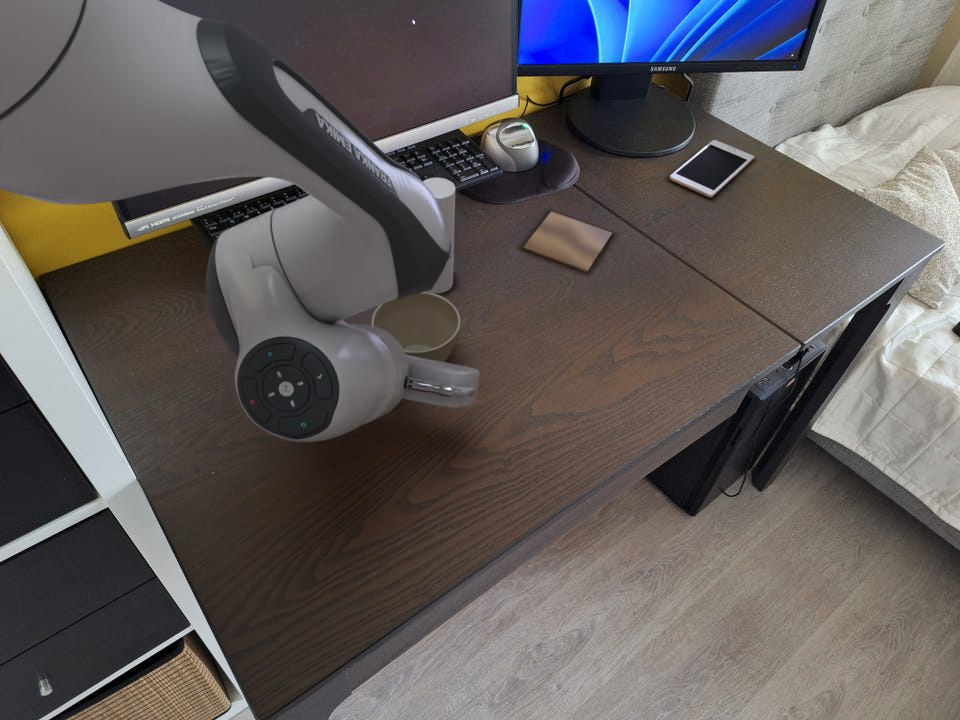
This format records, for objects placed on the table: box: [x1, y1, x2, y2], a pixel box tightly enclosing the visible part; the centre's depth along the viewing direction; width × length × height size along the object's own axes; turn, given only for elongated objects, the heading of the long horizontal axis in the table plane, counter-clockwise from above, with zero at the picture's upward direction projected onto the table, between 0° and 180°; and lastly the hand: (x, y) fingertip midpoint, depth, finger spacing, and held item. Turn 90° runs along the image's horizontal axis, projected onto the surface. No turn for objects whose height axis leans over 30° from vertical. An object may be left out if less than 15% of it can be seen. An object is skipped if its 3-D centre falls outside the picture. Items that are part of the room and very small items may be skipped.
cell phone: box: [669, 139, 755, 199], centre depth 112 cm, size 8×16×1 cm, turn 140°
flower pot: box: [371, 291, 461, 362], centre depth 78 cm, size 10×10×7 cm
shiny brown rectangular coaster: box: [522, 211, 613, 274], centre depth 98 cm, size 10×10×1 cm
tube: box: [422, 177, 456, 294], centre depth 85 cm, size 4×4×15 cm
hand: (395, 365), depth 74 cm, fingers closed, pressing on flower pot
